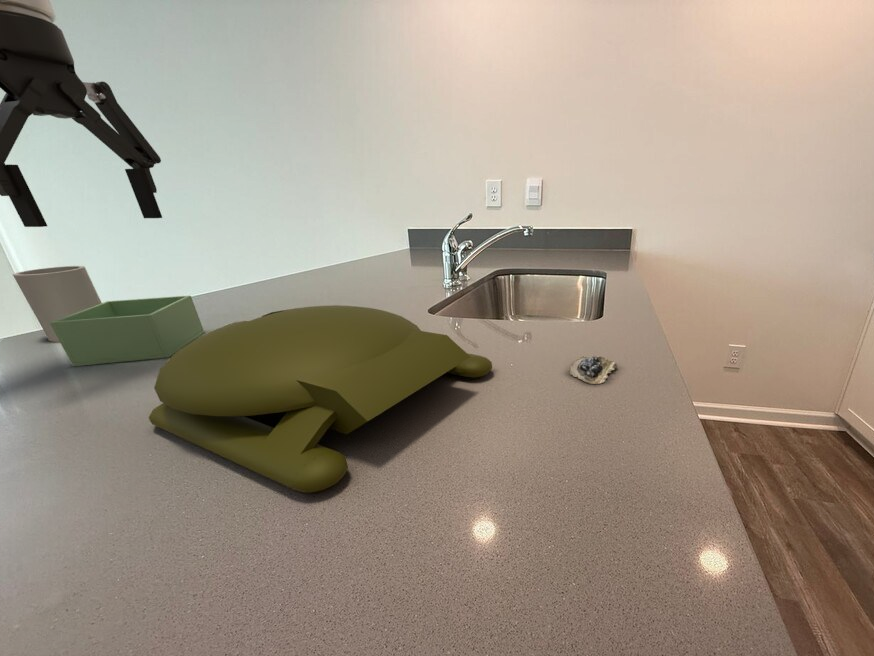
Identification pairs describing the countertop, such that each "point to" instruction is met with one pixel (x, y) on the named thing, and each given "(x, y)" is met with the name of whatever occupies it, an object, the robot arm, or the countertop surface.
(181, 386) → the spaceship
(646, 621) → the countertop surface
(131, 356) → the bin
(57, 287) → the cup
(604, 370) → the blueberries
